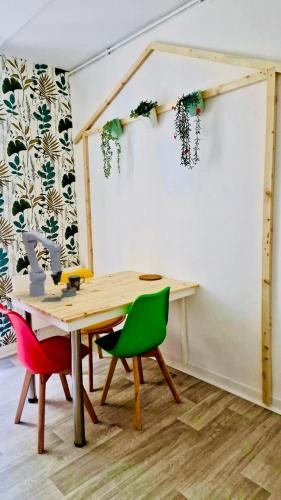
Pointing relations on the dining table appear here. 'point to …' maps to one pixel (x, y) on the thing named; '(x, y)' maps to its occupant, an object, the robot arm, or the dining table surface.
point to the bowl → (68, 294)
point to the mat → (52, 299)
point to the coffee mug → (75, 281)
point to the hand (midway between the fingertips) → (57, 283)
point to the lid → (68, 288)
